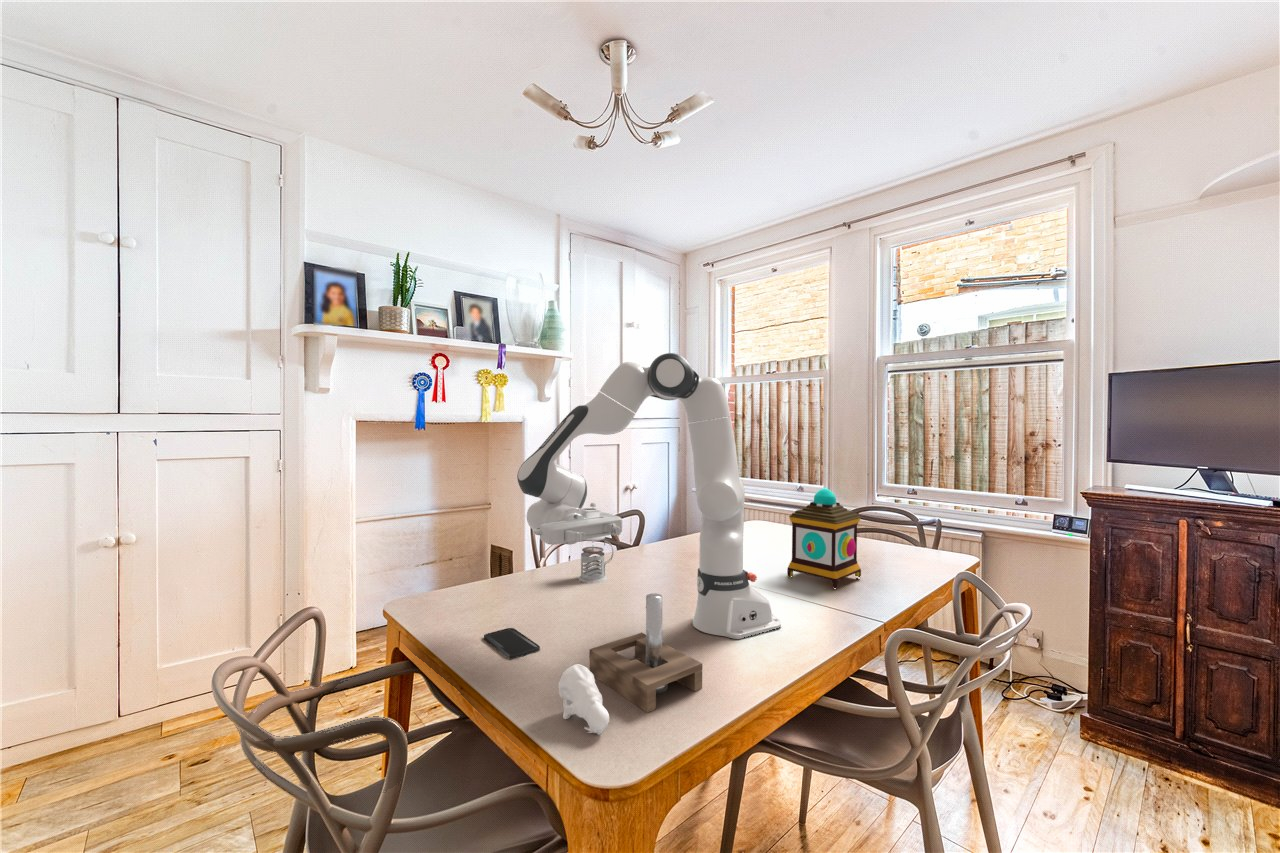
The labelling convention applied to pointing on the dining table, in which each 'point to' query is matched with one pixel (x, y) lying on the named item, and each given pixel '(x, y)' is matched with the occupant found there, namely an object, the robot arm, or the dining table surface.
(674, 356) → the robot arm
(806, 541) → the decorative lantern
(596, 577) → the french press
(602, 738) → the dining table surface
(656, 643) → the steel peg
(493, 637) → the phone
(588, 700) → the white lumpy figurine
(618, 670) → the keyhole board
